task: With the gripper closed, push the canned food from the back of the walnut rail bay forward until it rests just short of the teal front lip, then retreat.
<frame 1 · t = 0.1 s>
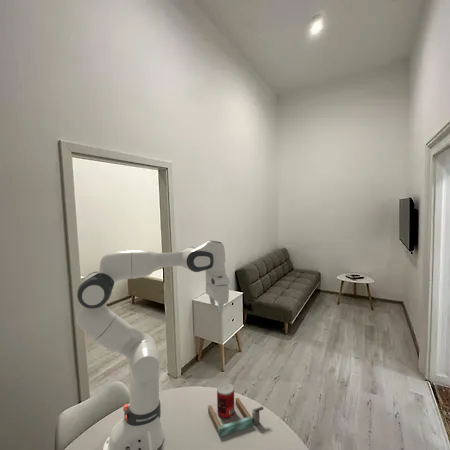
hand: (216, 308, 113), 48 cm above the table, fingers open, 8 cm apart
bay: (227, 415, 114), on the table
canned food: (226, 413, 116), on the table
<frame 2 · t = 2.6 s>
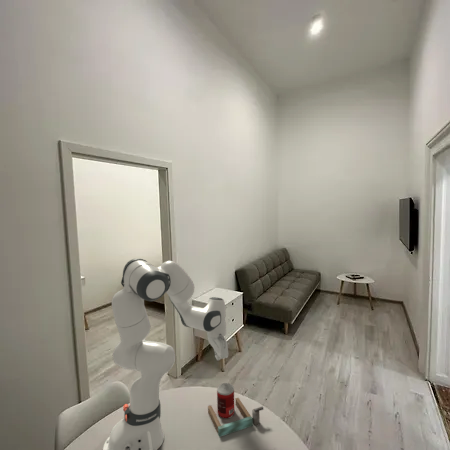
hand: (217, 358, 126), 19 cm above the table, fingers closed
nothing on the table moved.
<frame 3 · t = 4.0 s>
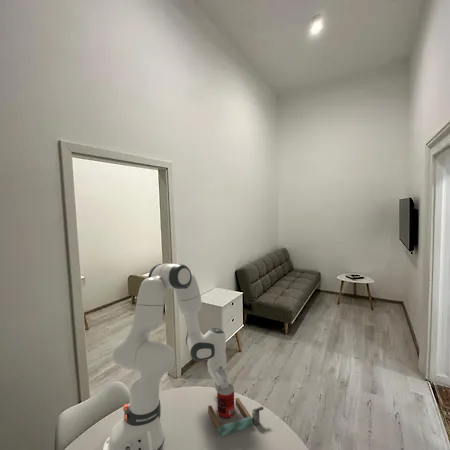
hand: (218, 390, 126), 4 cm above the table, fingers closed
nothing on the table moved.
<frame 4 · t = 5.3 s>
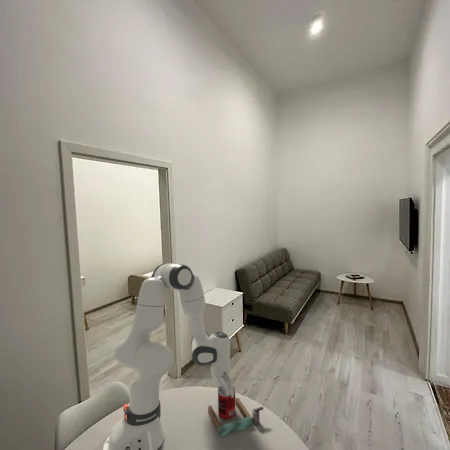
hand: (222, 397, 121), 4 cm above the table, fingers closed
canned food: (226, 414, 115), on the table, touching gripper
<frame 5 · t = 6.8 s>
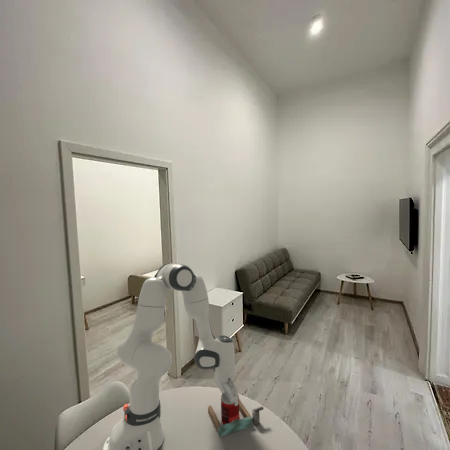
hand: (226, 403, 116), 4 cm above the table, fingers closed
canned food: (230, 422, 110), on the table, touching gripper
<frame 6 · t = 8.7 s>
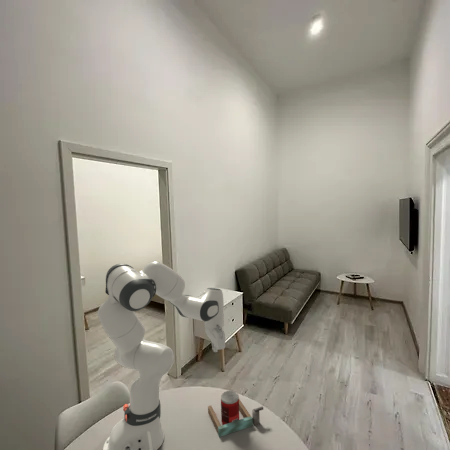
hand: (215, 350, 123), 25 cm above the table, fingers closed
canned food: (230, 422, 110), on the table
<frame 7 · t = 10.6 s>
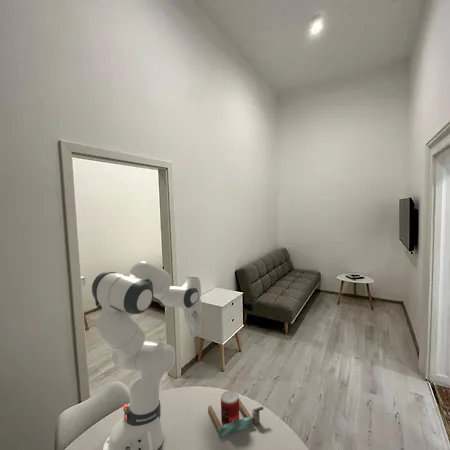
hand: (193, 336, 129), 29 cm above the table, fingers closed
nothing on the table moved.
at the end: canned food inside the target area (0.6 cm from its centre), on the table; canned food tilted 0° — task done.
